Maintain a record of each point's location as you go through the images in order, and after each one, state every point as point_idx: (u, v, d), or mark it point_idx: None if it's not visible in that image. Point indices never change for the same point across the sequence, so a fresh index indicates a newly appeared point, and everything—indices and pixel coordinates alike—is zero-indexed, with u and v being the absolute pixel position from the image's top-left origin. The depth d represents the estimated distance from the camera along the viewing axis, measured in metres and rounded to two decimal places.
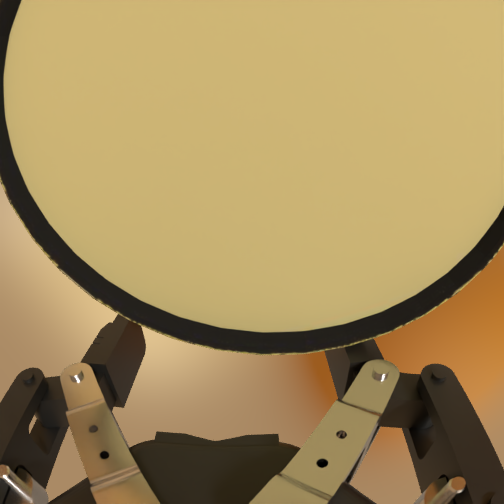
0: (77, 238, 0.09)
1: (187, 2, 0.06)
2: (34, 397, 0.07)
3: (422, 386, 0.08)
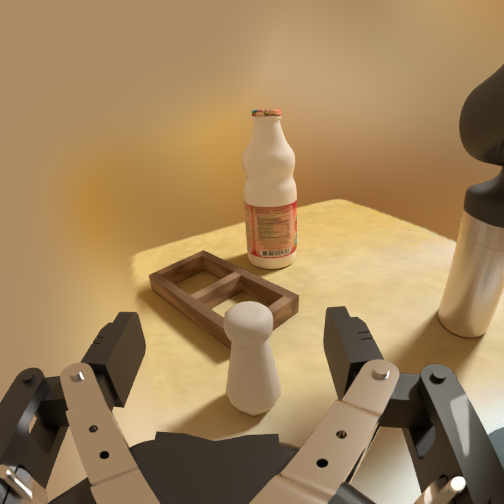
0: None
1: None
2: (34, 397, 0.07)
3: (422, 386, 0.08)
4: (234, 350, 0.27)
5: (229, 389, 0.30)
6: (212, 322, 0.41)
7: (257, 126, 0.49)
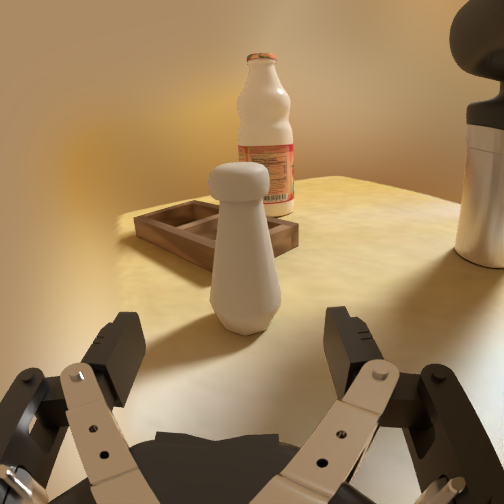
0: None
1: None
2: (34, 397, 0.07)
3: (422, 386, 0.08)
4: (221, 218, 0.22)
5: (213, 289, 0.24)
6: (198, 244, 0.36)
7: (252, 69, 0.46)
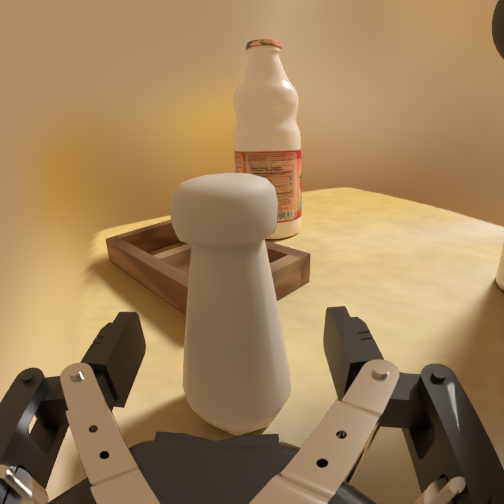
0: None
1: None
2: (34, 397, 0.07)
3: (422, 386, 0.08)
4: (192, 273, 0.13)
5: (186, 377, 0.14)
6: (176, 283, 0.26)
7: (252, 59, 0.37)
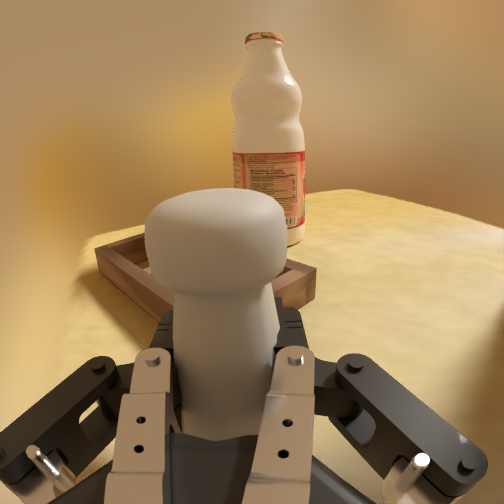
0: None
1: None
2: (96, 389, 0.08)
3: (342, 380, 0.08)
4: (175, 322, 0.09)
5: None
6: (167, 304, 0.23)
7: (252, 53, 0.34)
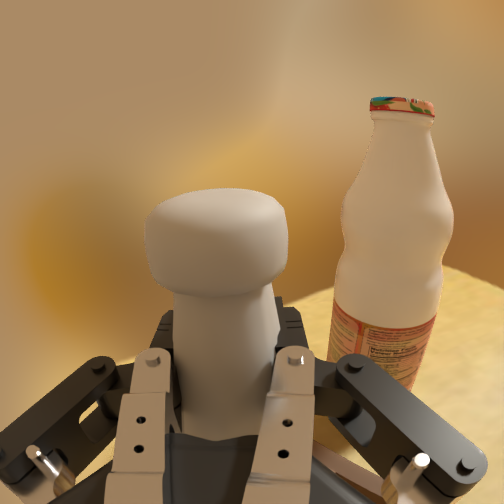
0: None
1: None
2: (96, 389, 0.08)
3: (343, 380, 0.08)
4: (175, 323, 0.09)
5: None
6: None
7: (389, 136, 0.19)
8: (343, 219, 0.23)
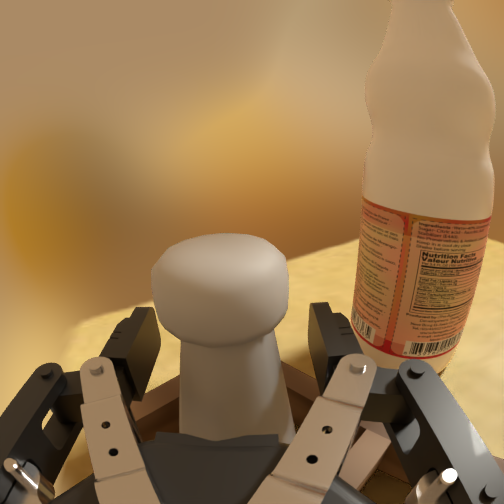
0: None
1: None
2: (50, 393, 0.08)
3: (401, 382, 0.08)
4: (183, 362, 0.10)
5: None
6: None
7: (410, 3, 0.13)
8: (370, 90, 0.16)
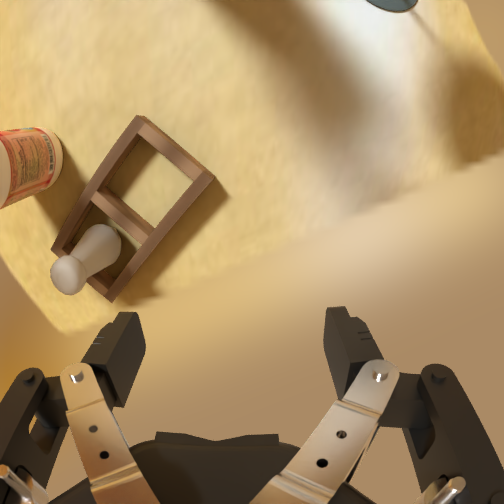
0: None
1: None
2: (34, 397, 0.07)
3: (422, 386, 0.08)
4: (87, 277, 0.33)
5: (107, 265, 0.38)
6: (185, 210, 0.37)
7: None
8: None
